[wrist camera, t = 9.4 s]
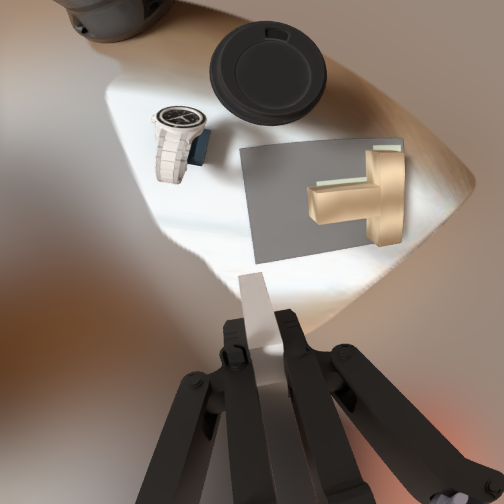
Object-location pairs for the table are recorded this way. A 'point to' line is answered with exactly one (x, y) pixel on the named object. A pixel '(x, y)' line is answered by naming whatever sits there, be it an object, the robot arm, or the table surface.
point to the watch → (179, 141)
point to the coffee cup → (268, 73)
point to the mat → (303, 194)
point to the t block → (366, 198)
